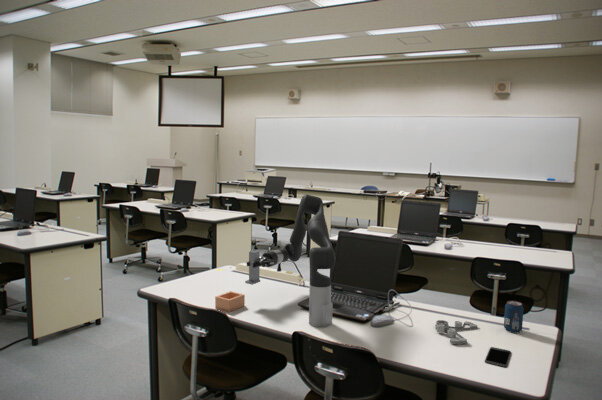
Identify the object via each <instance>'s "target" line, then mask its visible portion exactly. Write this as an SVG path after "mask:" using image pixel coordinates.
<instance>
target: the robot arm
mask: <svg viewBox="0 0 602 400" xmlns="http://www.w3.org/2000/svg"><path fill="white" fill-rule="evenodd" d="M297 209H298V210H297V214H296V218H295V223H294V227H293V230H292V232H291V235H290V237H289V243H286V244H284V246H282V247H281V248H278V249H274V250H270V251H266V252H264V253H263V254H262V256H260V259H259V262H255V263H253V268H255V267H258V266H259V268H260V267H262V268H270V267H274V266H277V265H279V264H282V263H284V262H286V261H288V260H290V261H291V262H294V263H295V262H298V261H299V260H300V259H301V257H302V252H303V251H302V250H303V243H304V240H305V237H306V234H307V233H308V237H309V239H310V240H312V242H313V243H314V244H316V245H317V246H318V247H311V249H310V250H309V259H308V260H309V290H308V291H309V292H308V293H309V295H308V299H309V300H308V306H309V307H308V311H309V312H308V324H309V325H310V326H312V327H316V328H326V327H328V326H330V325H331V324H333V305H334V303H333V301H332V299H331V298H332V297H331V296H332V279H331V277H329V276H328V275H325V274H322V273H320V272H319V271H318V270H331V269H333V268H335V265H336V254H335V250H334V247H333V245H332V242H331V239H330V234H329V229H328V224H327V222H326V221H327V220H326V218H325V211H324V202H323V199H322V198H321V197H318V196H314V195H312V194H311V195H310V194H303V196H302V197H301V199H300V201H299V205H298V208H297ZM304 214H309V215H313V216H312V217H311V218H310V219H309V220H308V222H307V225H306V224H305V220H304ZM306 226H307V227H306ZM306 228H307V229H306ZM246 267H249V260H248V261H246Z"/></svg>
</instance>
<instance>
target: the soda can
mask: <svg viewBox="0 0 602 400" xmlns="http://www.w3.org/2000/svg"><path fill="white" fill-rule="evenodd" d="M503 320H504V321H503V327H504V330H505V331H506V332H509V333H513V334H520V333H521V332H522V330H523V321H524V306H523V303H522V302H520V301H517V300H507V301H506V303H505V305H504V319H503Z"/></svg>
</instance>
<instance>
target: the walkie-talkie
mask: <svg viewBox="0 0 602 400" xmlns="http://www.w3.org/2000/svg"><path fill="white" fill-rule="evenodd" d="M400 303H401V302H400V301H399V302H395V303H392V304H389V305H390V306H389V307H385V309H384V311H383V312H388V311H390V310H393V308H394V307H396V306H397V305H398V306H399V305H400Z"/></svg>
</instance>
